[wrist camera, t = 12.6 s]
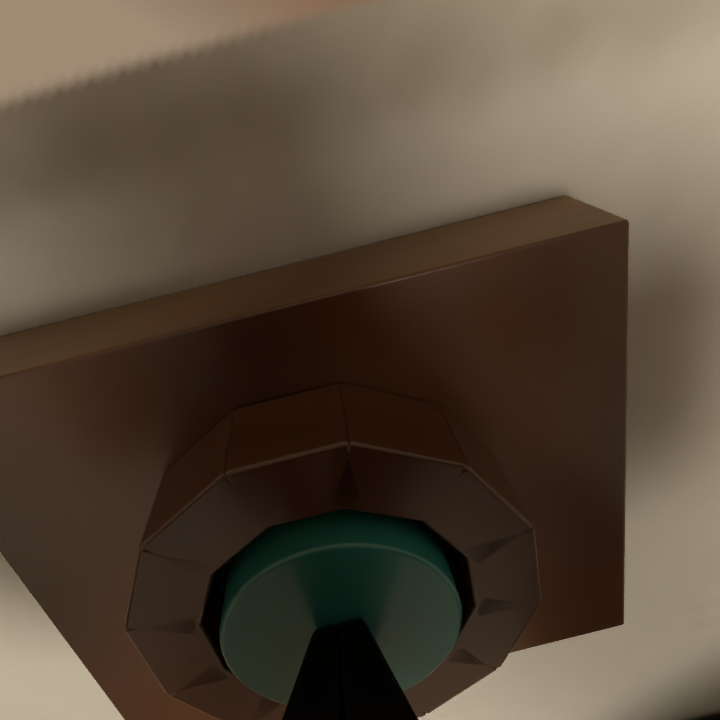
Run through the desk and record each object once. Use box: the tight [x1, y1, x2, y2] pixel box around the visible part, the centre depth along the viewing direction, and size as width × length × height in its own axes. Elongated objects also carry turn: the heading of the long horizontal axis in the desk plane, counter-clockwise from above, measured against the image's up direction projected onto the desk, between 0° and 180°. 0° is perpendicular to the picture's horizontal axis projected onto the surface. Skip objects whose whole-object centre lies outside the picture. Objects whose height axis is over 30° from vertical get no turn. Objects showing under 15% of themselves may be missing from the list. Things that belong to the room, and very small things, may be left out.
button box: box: [0, 196, 629, 720], centre depth 11 cm, size 12×10×4 cm
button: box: [219, 509, 462, 705], centre depth 10 cm, size 4×4×2 cm
